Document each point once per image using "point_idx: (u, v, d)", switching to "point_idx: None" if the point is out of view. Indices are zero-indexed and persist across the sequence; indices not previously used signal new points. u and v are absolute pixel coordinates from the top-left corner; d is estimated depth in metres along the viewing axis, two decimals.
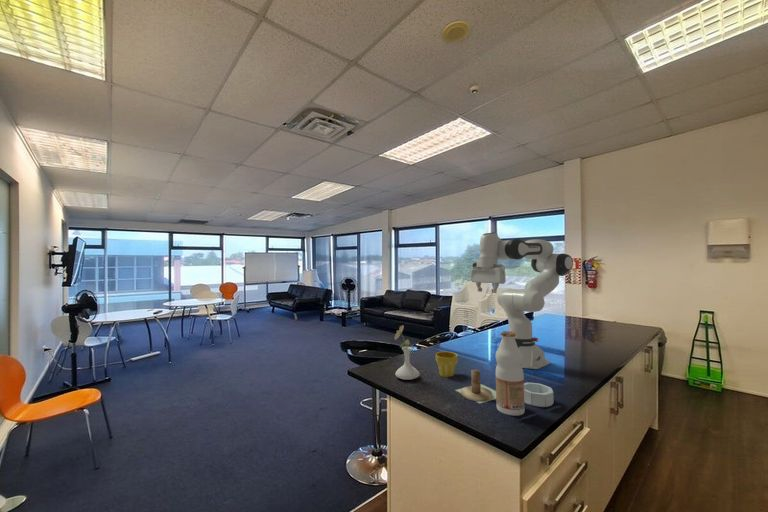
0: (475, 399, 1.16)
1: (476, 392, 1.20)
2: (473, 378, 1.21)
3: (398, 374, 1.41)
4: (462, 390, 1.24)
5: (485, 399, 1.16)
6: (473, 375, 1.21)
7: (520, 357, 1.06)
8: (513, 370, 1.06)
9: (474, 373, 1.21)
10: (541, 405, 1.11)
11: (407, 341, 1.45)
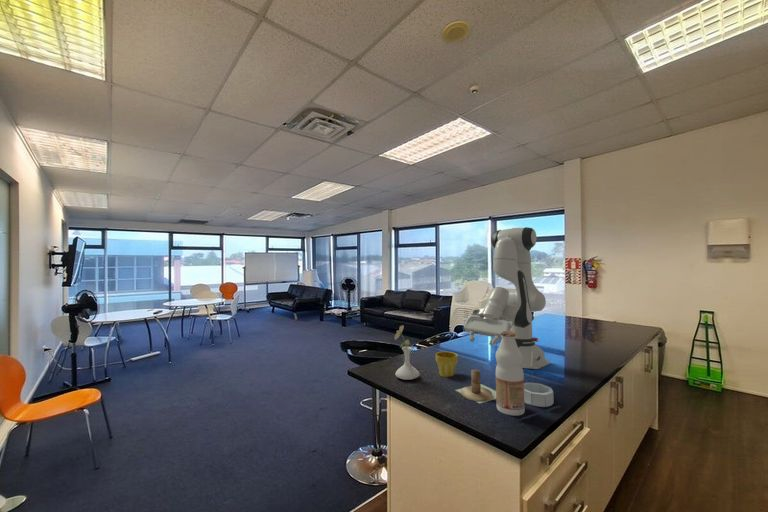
0: (475, 399, 1.16)
1: (476, 392, 1.20)
2: (473, 378, 1.21)
3: (398, 374, 1.41)
4: (462, 390, 1.24)
5: (485, 399, 1.16)
6: (473, 375, 1.21)
7: (520, 357, 1.06)
8: (513, 370, 1.06)
9: (474, 373, 1.21)
10: (541, 405, 1.11)
11: (407, 341, 1.45)
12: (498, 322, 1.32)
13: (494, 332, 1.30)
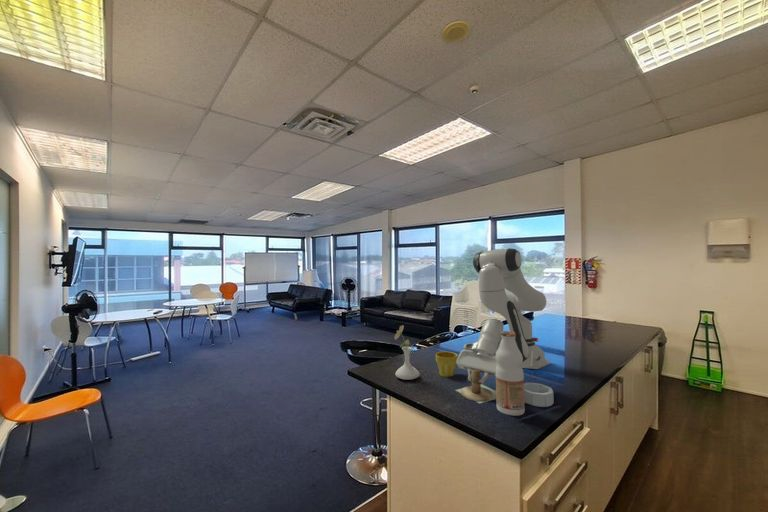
0: (475, 399, 1.16)
1: (476, 392, 1.20)
2: (473, 378, 1.21)
3: (398, 374, 1.41)
4: (462, 390, 1.24)
5: (485, 399, 1.16)
6: (473, 375, 1.21)
7: (520, 357, 1.06)
8: (513, 370, 1.06)
9: (474, 373, 1.21)
10: (541, 405, 1.11)
11: (407, 341, 1.45)
12: (493, 359, 1.23)
13: (489, 370, 1.20)
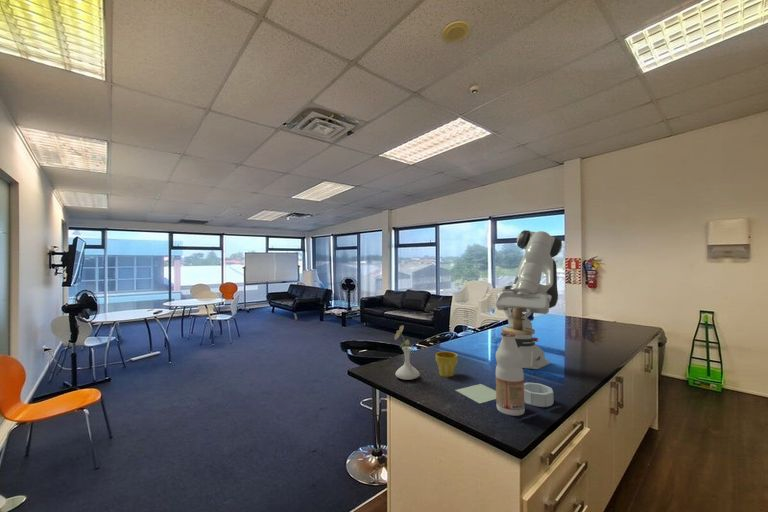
0: (519, 333, 1.15)
1: (518, 328, 1.19)
2: (515, 314, 1.20)
3: (398, 374, 1.41)
4: (503, 328, 1.23)
5: (529, 333, 1.15)
6: (515, 311, 1.20)
7: (520, 357, 1.06)
8: (513, 370, 1.06)
9: (516, 309, 1.20)
10: (541, 405, 1.11)
11: (407, 341, 1.45)
12: (535, 296, 1.22)
13: (532, 306, 1.19)
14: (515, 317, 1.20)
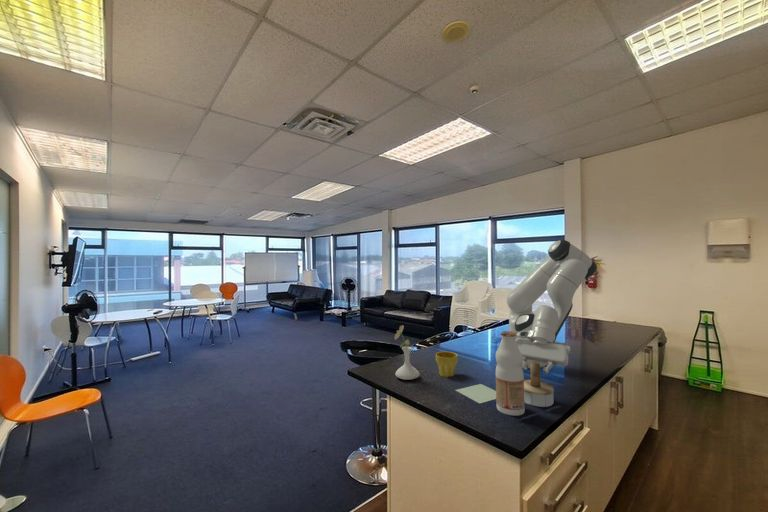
0: (537, 393, 1.11)
1: (536, 386, 1.15)
2: (533, 371, 1.16)
3: (398, 374, 1.41)
4: None
5: (548, 393, 1.11)
6: (533, 368, 1.16)
7: (520, 357, 1.06)
8: (513, 370, 1.06)
9: (534, 366, 1.15)
10: (541, 405, 1.11)
11: (407, 341, 1.45)
12: (553, 347, 1.17)
13: (550, 358, 1.15)
14: (533, 374, 1.16)
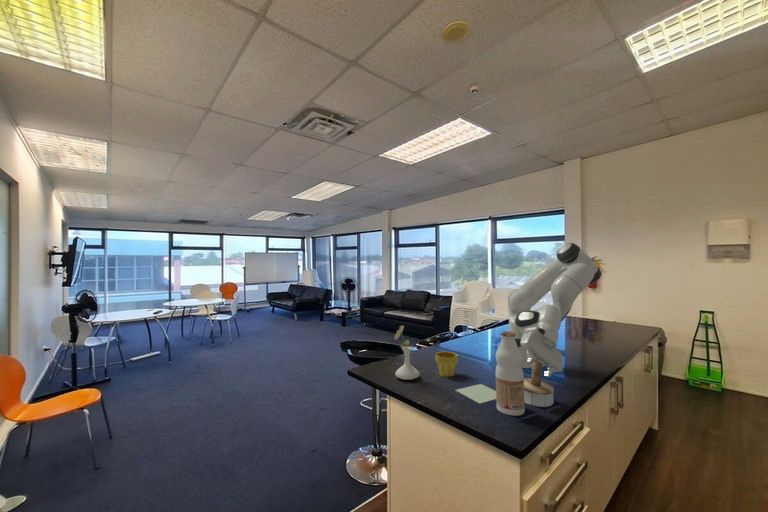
0: (538, 391, 1.11)
1: (537, 384, 1.15)
2: (534, 370, 1.15)
3: (398, 374, 1.41)
4: None
5: (548, 392, 1.11)
6: (535, 367, 1.15)
7: (520, 357, 1.06)
8: (513, 370, 1.06)
9: (536, 365, 1.15)
10: (541, 405, 1.11)
11: (407, 341, 1.45)
12: (556, 353, 1.24)
13: (553, 364, 1.21)
14: (534, 372, 1.15)
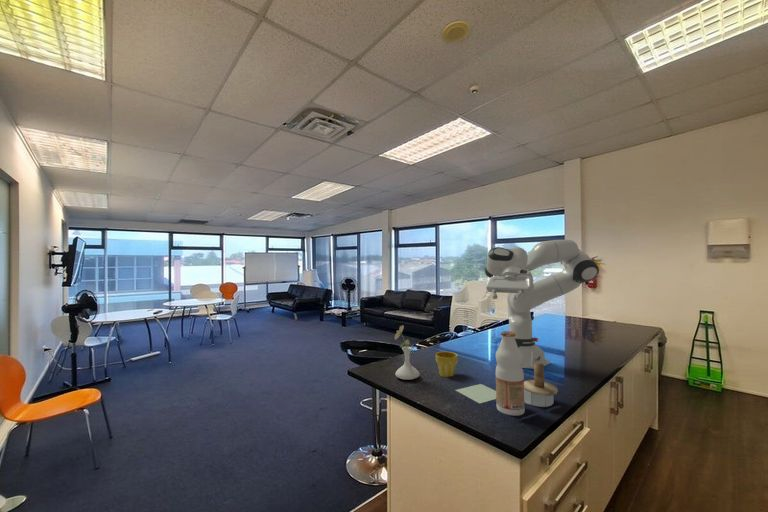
0: (540, 393, 1.10)
1: (540, 386, 1.14)
2: (536, 371, 1.15)
3: (398, 374, 1.41)
4: None
5: (551, 393, 1.10)
6: (536, 368, 1.15)
7: (520, 357, 1.06)
8: (513, 370, 1.06)
9: (537, 366, 1.15)
10: (541, 405, 1.11)
11: (407, 341, 1.45)
12: None
13: None
14: (536, 374, 1.15)
